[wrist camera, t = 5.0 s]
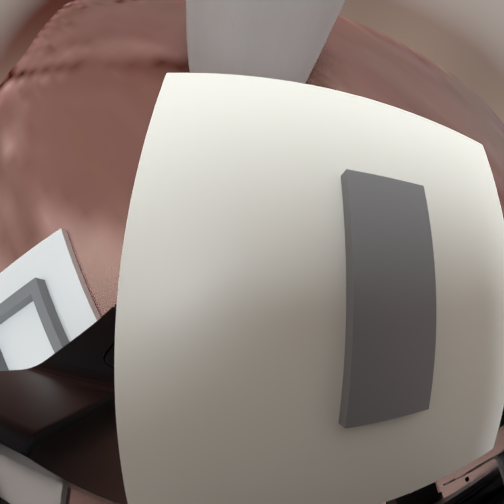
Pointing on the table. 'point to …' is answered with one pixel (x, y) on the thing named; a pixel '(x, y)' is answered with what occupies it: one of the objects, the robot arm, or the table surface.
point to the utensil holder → (258, 36)
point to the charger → (304, 299)
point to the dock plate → (42, 303)
